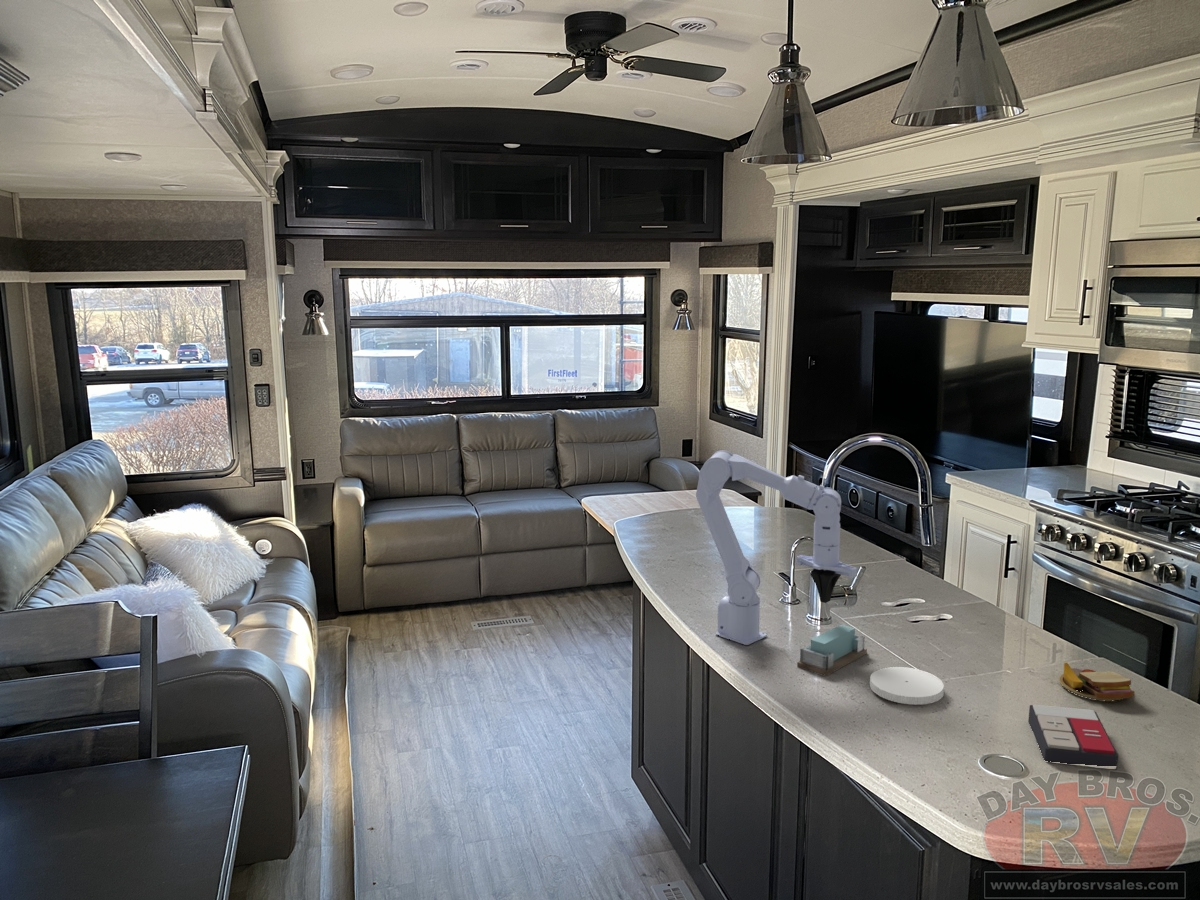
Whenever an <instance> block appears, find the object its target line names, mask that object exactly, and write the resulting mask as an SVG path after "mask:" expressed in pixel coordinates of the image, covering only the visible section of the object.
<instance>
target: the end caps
mask: <svg viewBox="0 0 1200 900" xmlns="http://www.w3.org/2000/svg"><path fill="white" fill-rule="evenodd" d="M865 640H866V639H865V636H863V635H860V634H856V633H855V643H854V652H855V653H859V652H861V651H863V650H864V648H865ZM799 652H800V654H799V661H800V662H802V663H805V664H808V665H811V666H814V667H817V668H820V669H823V670H828V669H830V668H831V667H833V655H834V653H831V652H830V653H828V654H826V655H824V654H821V653H818V652H814V651H811V644H810V645H809V644H807V645H805V646H803V647H801V648H800V650H799Z"/></svg>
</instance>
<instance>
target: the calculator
mask: <svg viewBox="0 0 1200 900" xmlns="http://www.w3.org/2000/svg"><path fill="white" fill-rule="evenodd" d="M1028 724H1030V725H1029V727H1030V726H1031V727H1030V729H1032V730H1031V732H1032V731H1033V732H1032V733H1033V735H1034V738H1035V741H1036V744H1037V743H1038V744H1037V746H1038V745H1039V747H1038V749H1039V748H1040V749H1039V751H1040V750H1041V752H1040V754H1041V753H1042V754H1041V756H1043V757H1042V759H1043V758H1044V759H1043V761H1044V760H1045V761H1048V762H1050V761H1051V762H1060V763H1067V764H1085V765H1097V766H1117V767H1118V763H1119V762H1118V761H1119V754H1118V752H1117V751H1116V749H1115V747H1114V745H1113V742H1112V741H1111V739H1110V737H1109V735H1108V733H1107V731H1106V729H1105V727H1104V725H1103V723H1102V721H1101V720H1100V717H1099V715H1098V713H1097V712H1096V711H1095V710H1093V709H1087V708H1075V707H1066V706H1065V707H1064V706H1063V707H1062V706H1054V705H1043V704H1030V705H1029V710H1028ZM1045 761H1044V762H1045Z"/></svg>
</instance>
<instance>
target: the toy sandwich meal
mask: <svg viewBox="0 0 1200 900" xmlns="http://www.w3.org/2000/svg"><path fill="white" fill-rule="evenodd" d="M1058 681H1059V683H1060V684H1061V686H1062V687H1063V688H1064V687H1065V688H1066V689H1067V690H1066V689H1065V688H1064V689H1065V690H1066V691H1068V690H1069V691H1071V692H1073V693H1075V694H1077V695H1080V696H1083V697H1087V698H1091V699H1096V700H1105V701H1111V702H1113V701H1112V700H1119V701H1121V700H1120V699H1122V700H1124V699H1127V698H1128V699H1129V698H1132V697H1133V698H1134V697H1135V695H1136V694H1135V691H1134V690H1133V689H1132V688H1131V685H1132V680H1131V679H1130V678H1127V677H1124V676H1123V675H1121V674H1119V673H1117V672H1115V671H1112V670H1108V671H1106V670H1105V671H1096V670H1093V669H1087V668H1086V669H1085V668H1084V669H1083V670H1082V669H1080V668H1076V667H1074V668H1073V667H1071V665H1070V664H1069V663H1068V662H1064V663H1063V673H1062V674H1061V675H1060V676H1059V678H1058ZM1076 690H1078V691H1076ZM1082 690H1083V691H1082ZM1069 691H1068V692H1069ZM1080 691H1081V692H1080ZM1071 692H1070V693H1071ZM1075 694H1074V695H1075ZM1077 695H1076V696H1077ZM1080 696H1079V697H1080ZM1083 697H1082V698H1083ZM1123 698H1124V699H1123ZM1105 701H1104V702H1105Z"/></svg>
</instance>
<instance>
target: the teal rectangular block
mask: <svg viewBox="0 0 1200 900" xmlns="http://www.w3.org/2000/svg"><path fill="white" fill-rule="evenodd" d="M855 634H856V628H854V627H851V626H849V625H848V626H847V625H844V624H840V625H838V626H836V627H834V628H831V629H829V630H827V631H826V632H823V633H821V634H820V635H818V636H816V637H814V638H811V639H810V646H811V651H814V652H818V653H821V654H824V655H826V654H828V653H830V652H831V653H834V655H833V661H835V660H836V659H838V658H840V657H842V656H844V655H846V654H848V653H849V652H851V651H853V650H854V643H855Z"/></svg>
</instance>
